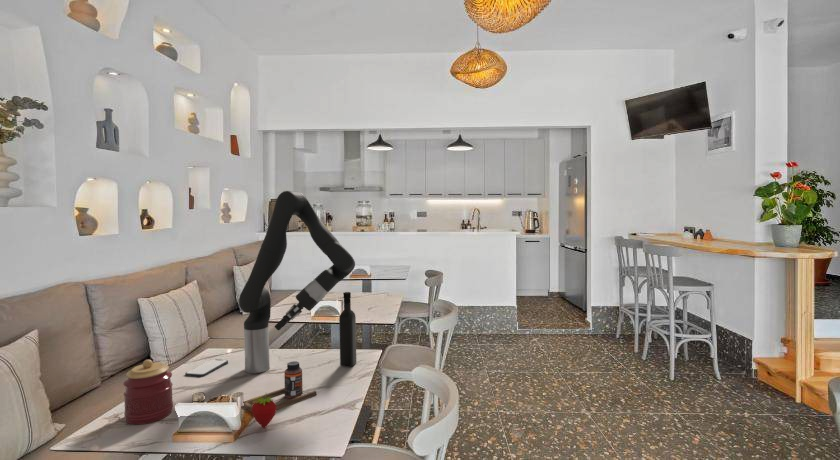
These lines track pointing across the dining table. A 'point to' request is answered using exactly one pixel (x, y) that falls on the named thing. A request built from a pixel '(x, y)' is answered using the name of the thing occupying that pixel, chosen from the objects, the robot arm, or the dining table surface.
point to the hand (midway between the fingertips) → (278, 327)
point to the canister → (148, 393)
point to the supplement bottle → (293, 380)
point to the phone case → (206, 368)
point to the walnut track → (248, 403)
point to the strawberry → (264, 411)
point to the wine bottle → (347, 333)
